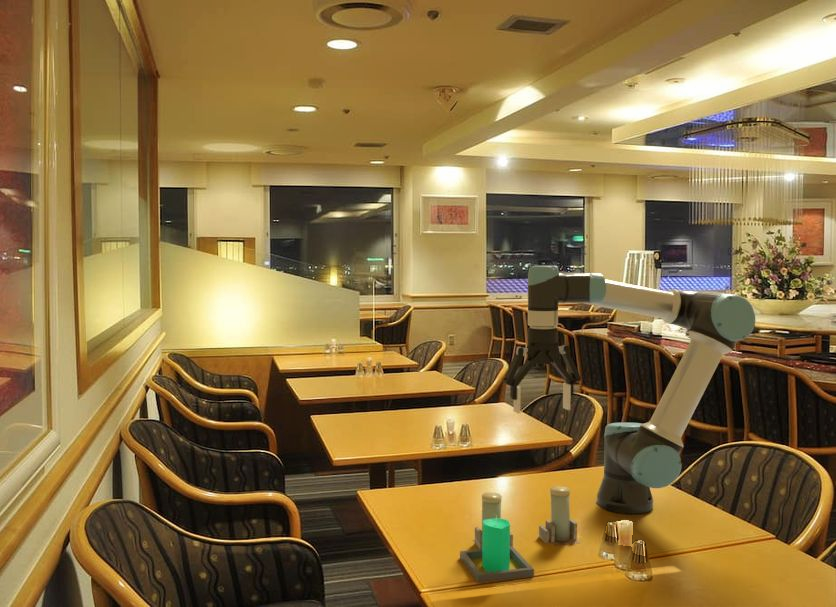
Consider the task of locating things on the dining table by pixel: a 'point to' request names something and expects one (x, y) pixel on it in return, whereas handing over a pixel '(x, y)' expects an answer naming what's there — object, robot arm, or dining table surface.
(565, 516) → the cream round cylinder
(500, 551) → the candle
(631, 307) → the robot arm
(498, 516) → the fuse
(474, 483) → the dining table surface
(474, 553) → the tray
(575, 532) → the fuse clips
